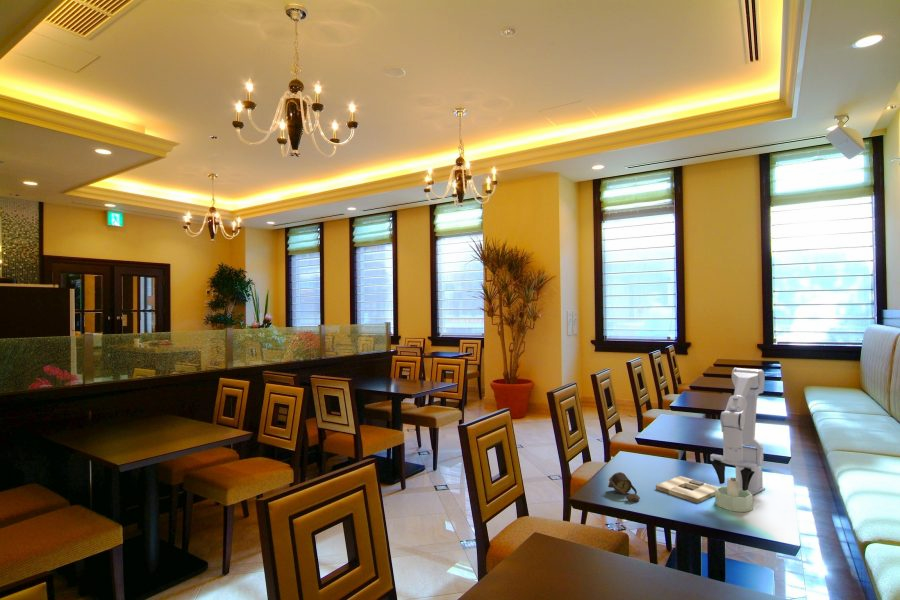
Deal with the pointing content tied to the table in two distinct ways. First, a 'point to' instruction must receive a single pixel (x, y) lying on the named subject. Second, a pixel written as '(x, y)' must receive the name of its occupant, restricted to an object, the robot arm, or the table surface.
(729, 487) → the cell
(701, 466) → the table surface
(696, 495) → the plate
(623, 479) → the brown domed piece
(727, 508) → the pale green bowl
